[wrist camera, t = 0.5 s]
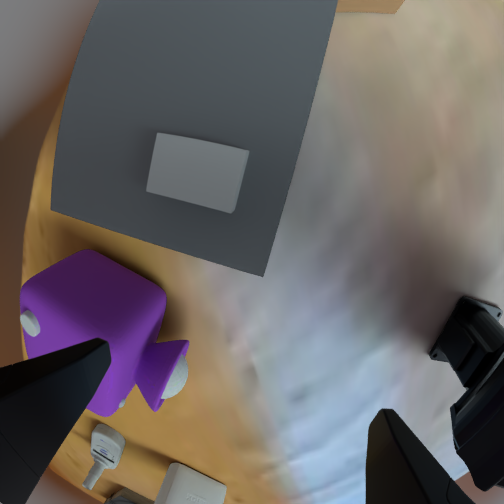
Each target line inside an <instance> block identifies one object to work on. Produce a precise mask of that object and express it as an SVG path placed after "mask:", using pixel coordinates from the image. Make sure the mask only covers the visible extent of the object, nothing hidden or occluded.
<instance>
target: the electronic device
mask: <svg viewBox="0 0 504 504" xmlns="http://www.w3.org/2000/svg"><path fill="white" fill-rule="evenodd" d="M124 446H125V439H124V438H123V436H122V435H121V434H120V433H118V432H117V431H116V430H114V429H113V428H111V427H109V426H107V425H105V424H98V425H97V426H96V427H95V429H94V430H93V432H92V439H91V455H92V457H93V458H94V461H95V463H94V466H92V468H91V470H90V471H89V474H88V476H87V477H86V479H85V481H84V482H83V484H82V485H83V486H84V487H85V488H87V489H89V490H91V489H92V488H93V486H94V484H95V482H96V481H97V479H99V477H100V475H101V474H102V471H103V470H104V468H105V469H108V468H110V469H114V468H116V466H117V464H118V463H119V461H120V458H121V455H122V452H123V449H124Z"/></svg>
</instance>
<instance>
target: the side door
mask: <svg viewBox="0 0 504 504" xmlns="http://www.w3.org/2000/svg"><path fill="white" fill-rule="evenodd" d="M404 1H405V0H338V3H337V7H336V12H376V13H392V14H395V13H396V12H397V10H398V9H399V8H400V6H401V5H402V3H403V2H404Z"/></svg>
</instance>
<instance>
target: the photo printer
mask: <svg viewBox="0 0 504 504" xmlns="http://www.w3.org/2000/svg"><path fill="white" fill-rule="evenodd" d="M226 488H227V487H226V486H225V485H223V484H221V483H219V482H217V481H215V480H213V479H211V478H209V477H207V476H205V475H203V474H201V473H199V472H197V471H195V470H193V469H191V468H189V467H187V466H185V465H182V464H180V463H171V464H170V466H169V468H168V470H167V473H166V475H165V478H164V480H163V483H162V485H161V488H160V490H159V493H158V495H157V498H156V500H155V503H154V504H223V502H224V498H225V494H226Z"/></svg>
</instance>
